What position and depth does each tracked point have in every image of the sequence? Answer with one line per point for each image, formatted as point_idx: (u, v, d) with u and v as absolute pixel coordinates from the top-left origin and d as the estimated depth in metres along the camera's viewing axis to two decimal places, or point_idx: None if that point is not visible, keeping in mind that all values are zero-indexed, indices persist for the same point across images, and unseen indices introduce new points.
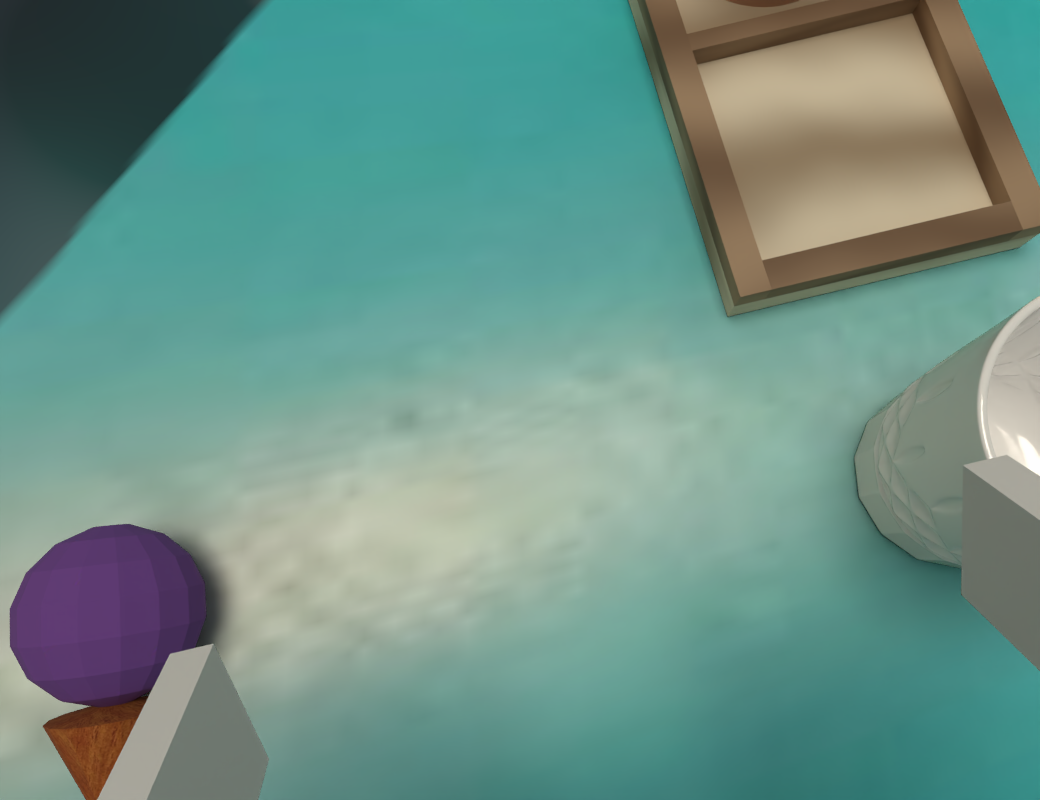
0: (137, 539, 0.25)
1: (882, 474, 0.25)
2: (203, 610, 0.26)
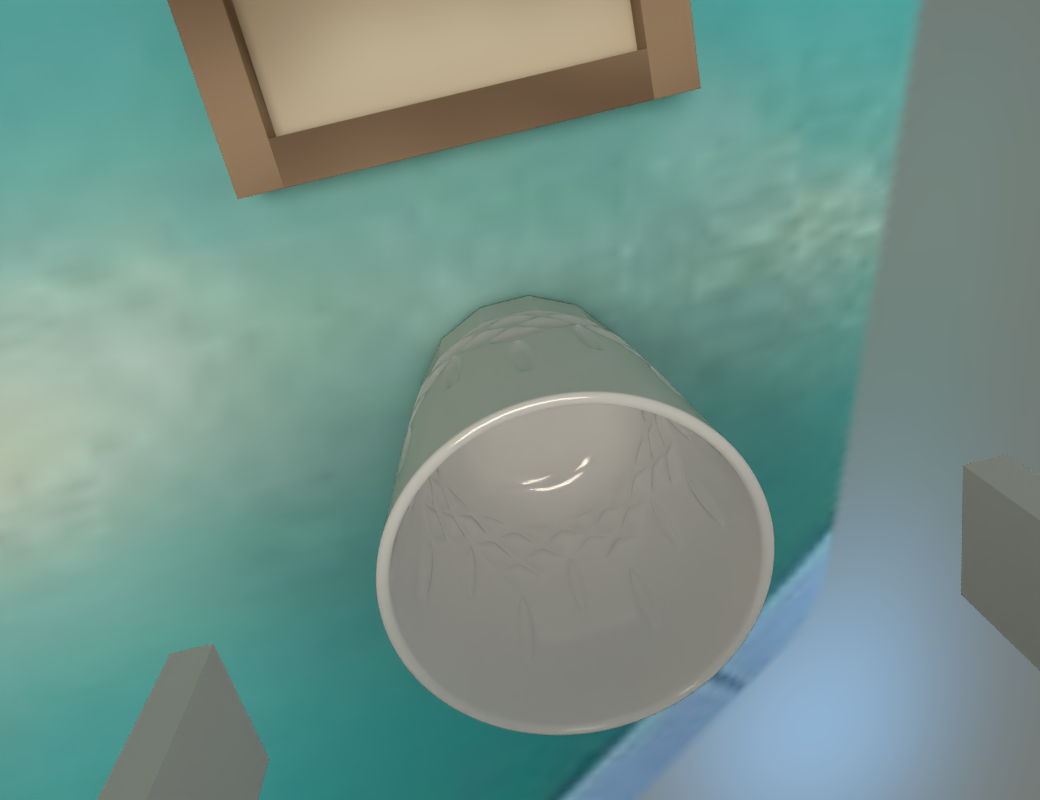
0: None
1: None
2: None
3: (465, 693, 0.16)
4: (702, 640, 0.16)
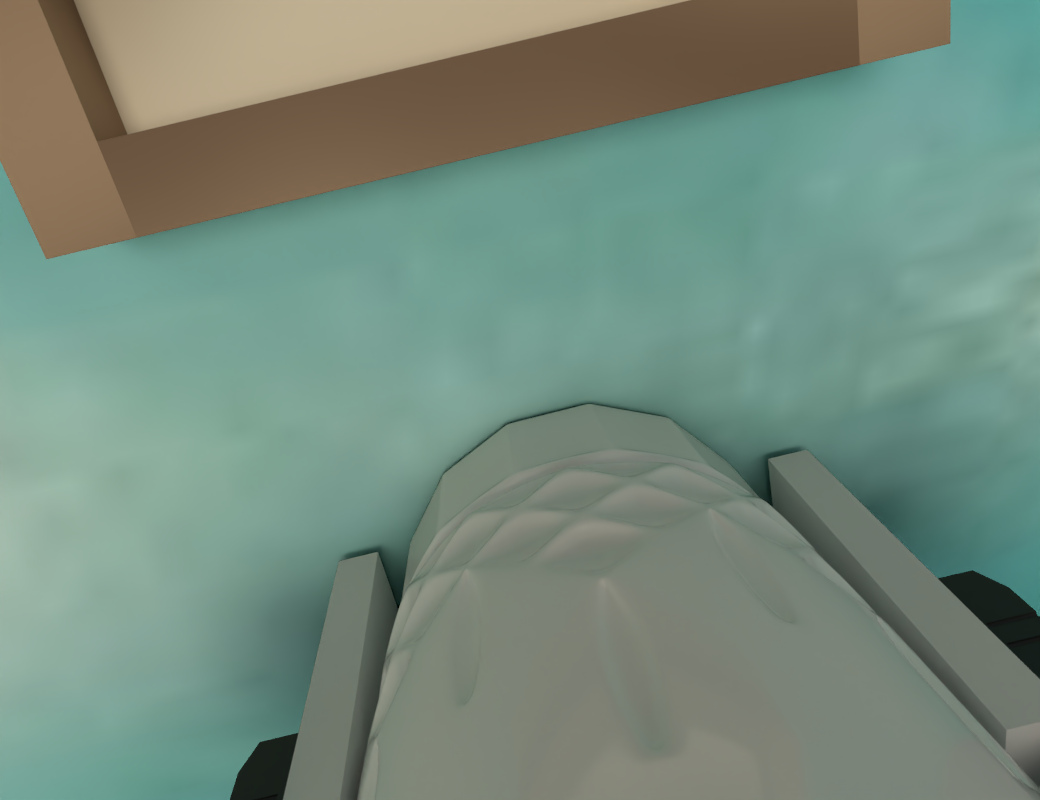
0: None
1: None
2: None
3: None
4: None
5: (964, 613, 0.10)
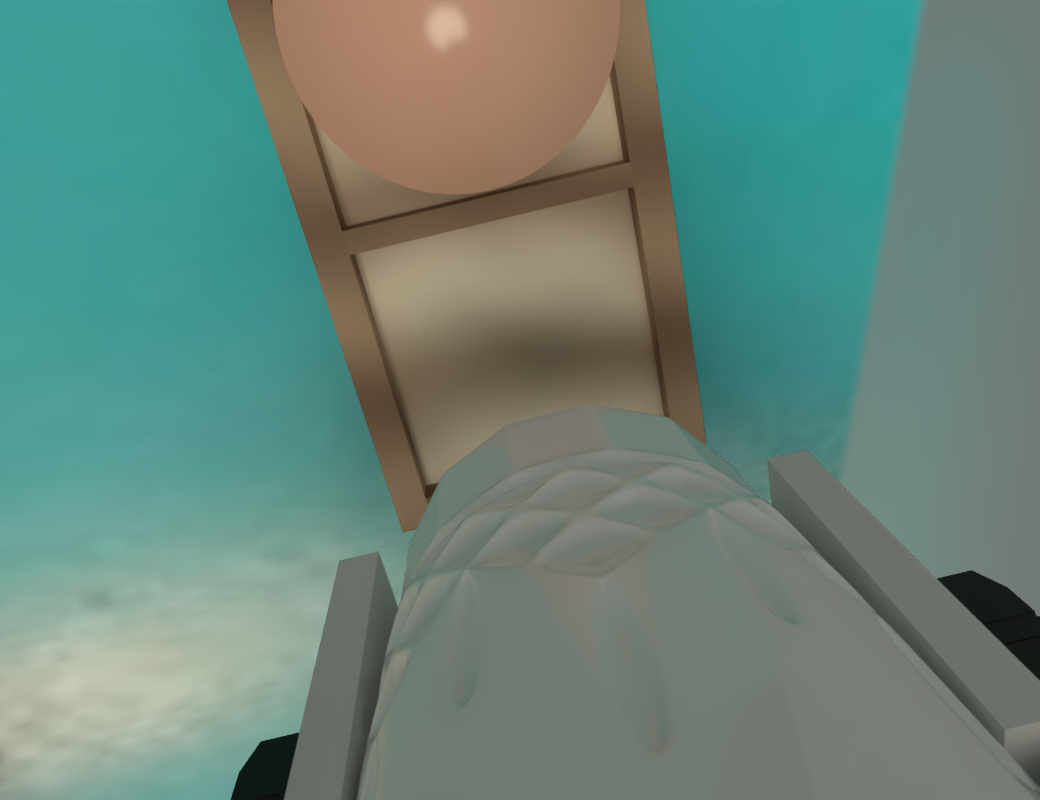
0: None
1: None
2: None
3: None
4: None
5: (963, 613, 0.10)
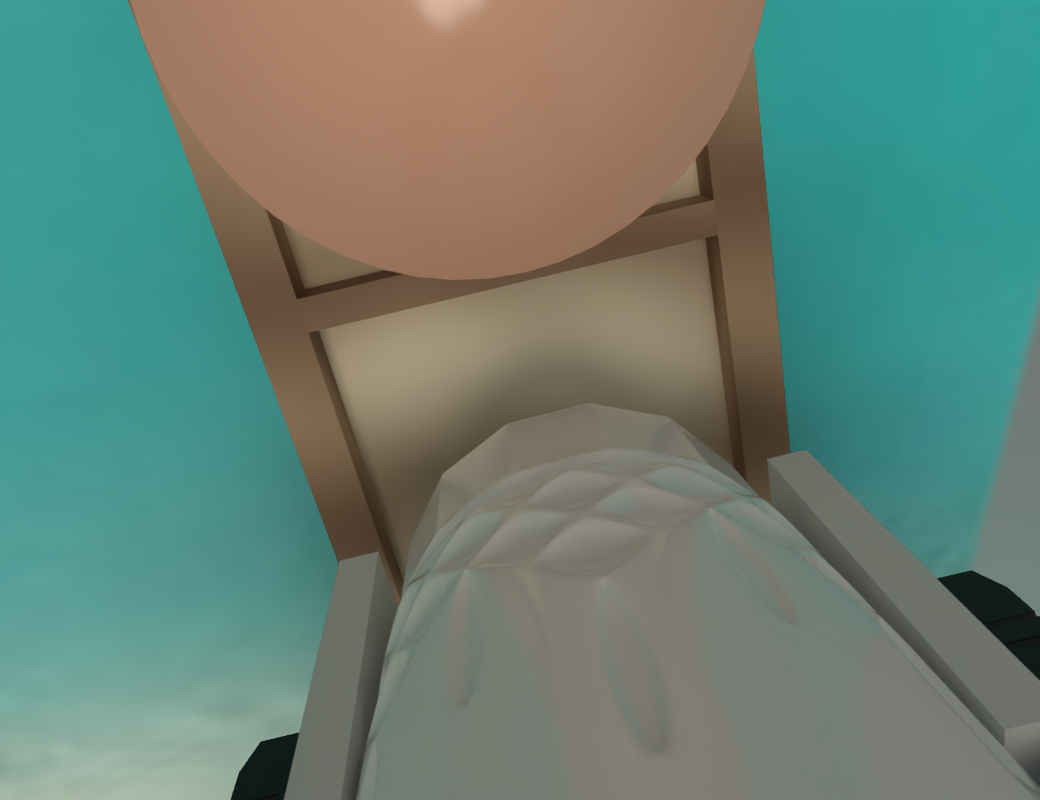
0: None
1: None
2: None
3: None
4: None
5: (963, 613, 0.10)
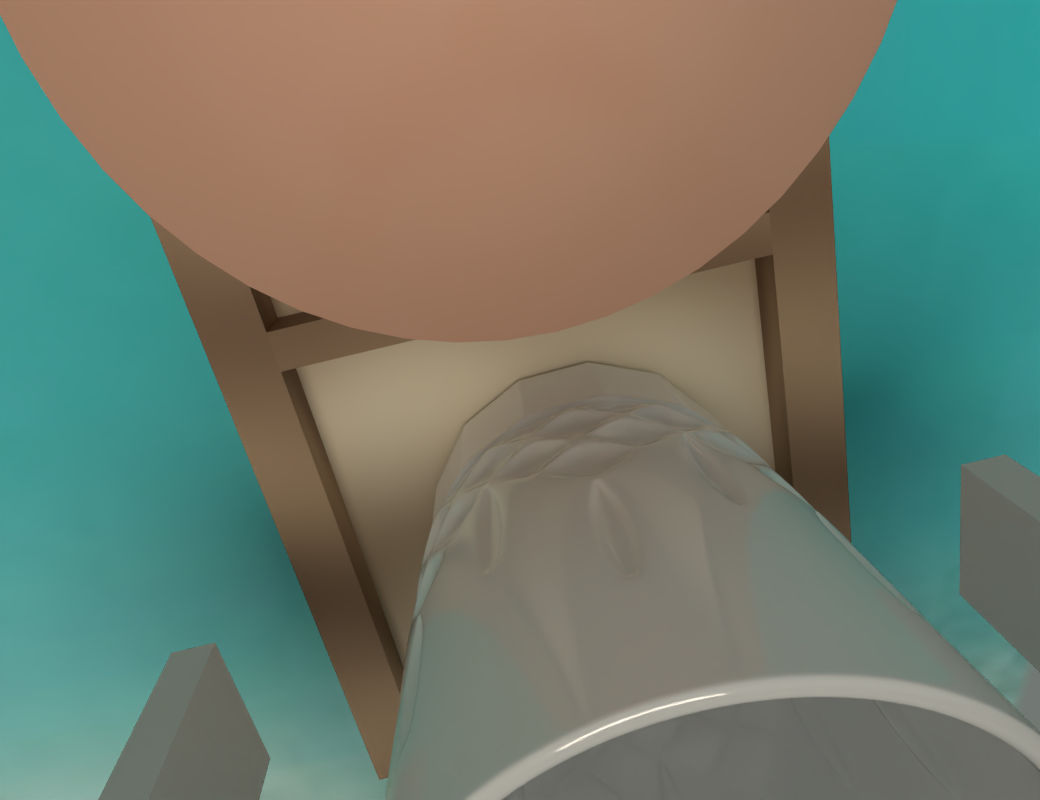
0: None
1: None
2: None
3: None
4: None
5: None
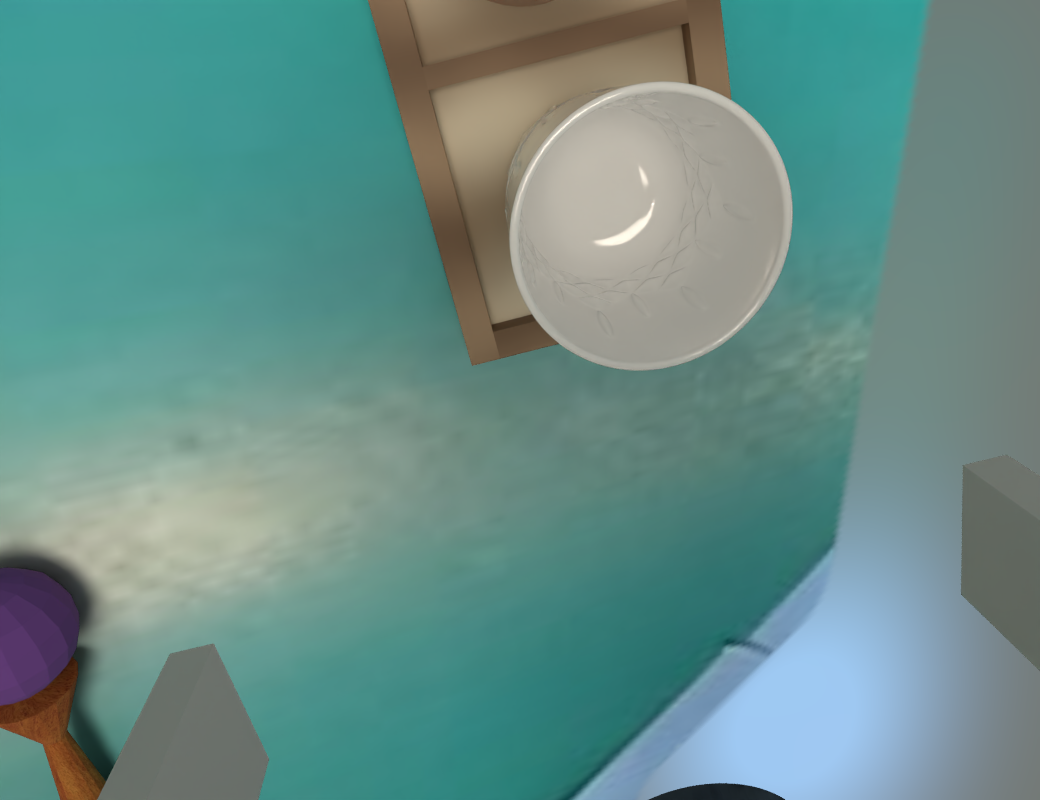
0: (5, 609, 0.32)
1: None
2: (76, 625, 0.35)
3: (569, 338, 0.22)
4: (740, 301, 0.22)
5: None
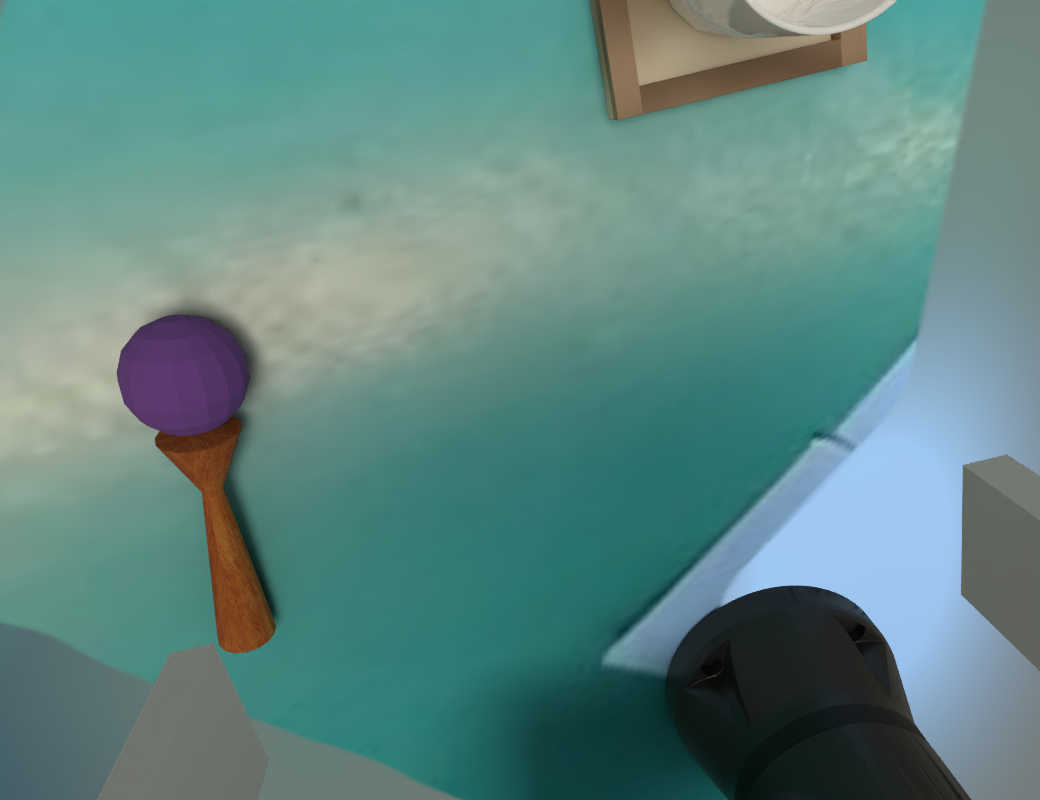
0: (200, 336, 0.36)
1: None
2: (248, 373, 0.38)
3: (755, 2, 0.26)
4: None
5: None
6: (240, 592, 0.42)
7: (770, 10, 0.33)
